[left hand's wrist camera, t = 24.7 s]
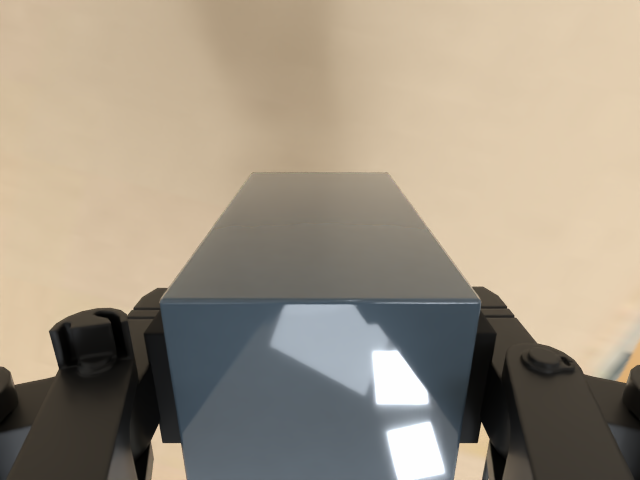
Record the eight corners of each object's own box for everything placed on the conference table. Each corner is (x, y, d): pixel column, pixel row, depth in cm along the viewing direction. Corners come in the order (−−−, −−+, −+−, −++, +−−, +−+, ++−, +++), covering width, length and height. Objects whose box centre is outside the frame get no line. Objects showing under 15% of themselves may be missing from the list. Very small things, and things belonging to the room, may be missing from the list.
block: (258, 300, 18) (193, 535, 9) (251, 171, 16) (156, 299, 7) (381, 300, 18) (447, 535, 9) (388, 171, 16) (483, 300, 7)
